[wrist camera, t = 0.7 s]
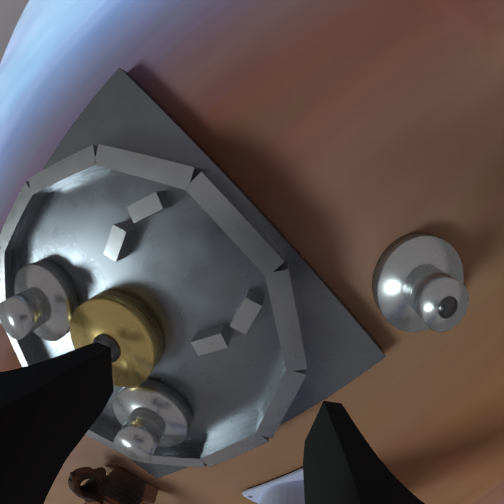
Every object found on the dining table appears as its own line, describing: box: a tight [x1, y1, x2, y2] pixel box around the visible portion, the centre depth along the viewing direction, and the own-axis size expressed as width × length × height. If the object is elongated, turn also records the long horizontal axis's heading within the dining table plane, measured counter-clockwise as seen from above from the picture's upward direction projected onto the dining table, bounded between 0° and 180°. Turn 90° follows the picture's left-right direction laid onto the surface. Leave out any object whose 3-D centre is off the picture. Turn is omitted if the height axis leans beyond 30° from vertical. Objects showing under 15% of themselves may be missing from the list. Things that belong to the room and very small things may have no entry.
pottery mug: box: [68, 466, 158, 504], centre depth 24 cm, size 12×10×8 cm
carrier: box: [0, 68, 386, 478], centre depth 17 cm, size 25×25×6 cm
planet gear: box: [372, 233, 469, 332], centre depth 15 cm, size 6×6×5 cm
